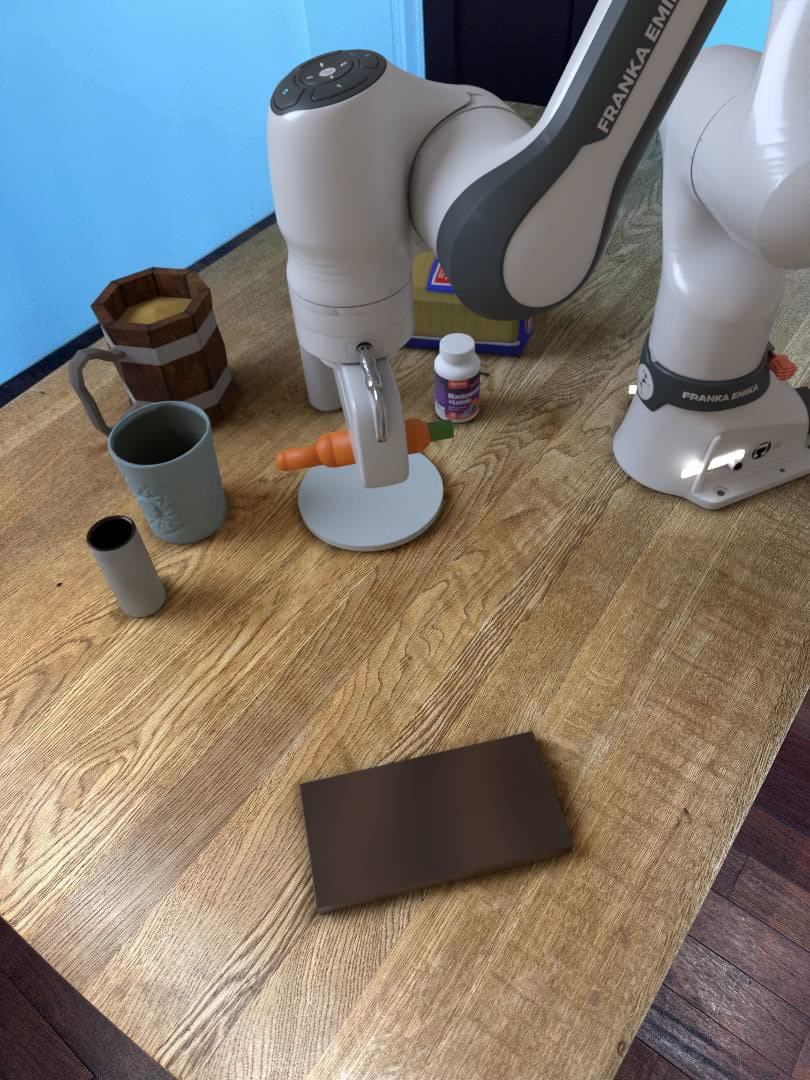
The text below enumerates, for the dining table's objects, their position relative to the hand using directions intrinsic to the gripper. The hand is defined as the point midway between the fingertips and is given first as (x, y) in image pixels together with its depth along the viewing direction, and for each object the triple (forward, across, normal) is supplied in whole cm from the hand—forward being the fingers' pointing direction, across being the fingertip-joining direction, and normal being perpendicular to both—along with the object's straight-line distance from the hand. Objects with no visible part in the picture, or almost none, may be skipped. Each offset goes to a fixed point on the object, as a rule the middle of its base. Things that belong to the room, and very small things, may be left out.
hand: (369, 449), depth 69 cm
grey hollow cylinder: (+18, +3, +24) cm, 30 cm away
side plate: (+17, +11, -1) cm, 21 cm away
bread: (+17, +39, -15) cm, 46 cm away
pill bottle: (+17, +23, -14) cm, 32 cm away
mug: (+18, +32, +22) cm, 42 cm away
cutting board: (+17, -26, +1) cm, 31 cm away
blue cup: (+18, +14, +19) cm, 30 cm away
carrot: (+1, 0, 0) cm, 1 cm away
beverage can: (+18, +29, +2) cm, 34 cm away
